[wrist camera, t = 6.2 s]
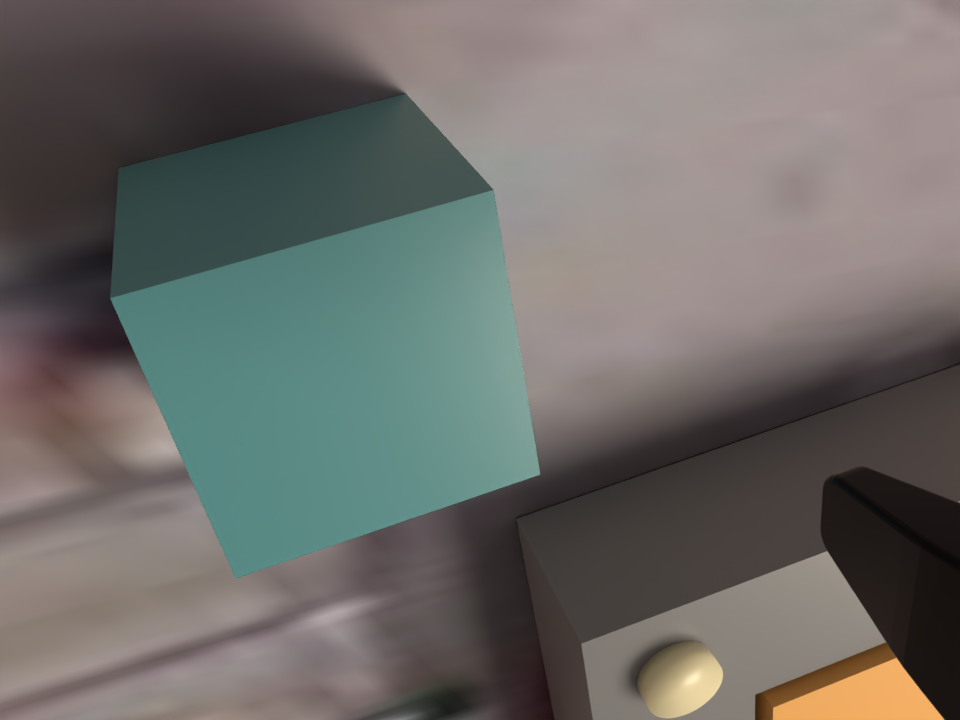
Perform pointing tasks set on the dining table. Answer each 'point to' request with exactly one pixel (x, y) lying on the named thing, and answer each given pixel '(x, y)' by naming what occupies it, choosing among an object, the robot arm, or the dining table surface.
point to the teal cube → (324, 327)
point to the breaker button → (849, 692)
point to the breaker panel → (722, 563)
